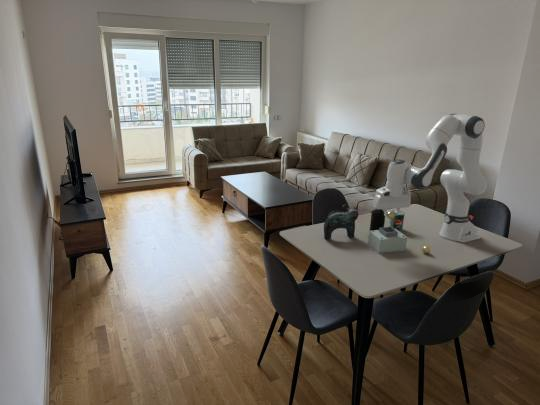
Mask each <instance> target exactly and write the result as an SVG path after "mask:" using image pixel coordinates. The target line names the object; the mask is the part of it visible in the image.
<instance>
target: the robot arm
mask: <svg viewBox="0 0 540 405" xmlns="http://www.w3.org/2000/svg"><path fill="white" fill-rule="evenodd" d="M485 127H486V126H485V121H484V119H483V118H482V117H479V115H478V116H477V115H471V114H466V113H465V114H462V113H461V114H460V113H459V114H458V113H451V114H446V115H443V116H442V117H441V118H440V119H439V120H437V122H436V123H435V124H434V125H433V126H432V127H431V129H430V130H429V131H428V132H427V133H426V136H425V144H426V147H427V148H428V149H429V150H430V151H431V156H430V157H429V159H428V161H427V163H426V164H425V165H424V167H422V168H420V167H417V166H415V165H411V164H410V163H408V162H406V161H405V159H393V160H391V161H390V163H389V165H388V166H387V172H386V183H385V186H384V185H383V186H382V187H380V188H377V189H376V190H375V193H376V194H375V196H374V197H373V198H374V199H373V207H374V209H382V210H383V211H384V216H385V217H387V216H388V212H387V211H388V210H389V209H395V212H393V213H394V215H395V216H397V213H398V212H399V211H401V209H403V208H409V207H410V206H411V196H412V191H411V190H410V189H406V190H405V189H404V184H407V185H409V186H410V187H411V186H412V187H413V188H416V189H417V190H419V191H420V190H422V191H423V190H425V189H427V188H428V187H429V186H430V185H431V184H432V182H433V179H434V176H435V174H436V172H437V170H438V169H439V167H440V166H441V163H442V162H443V161H444V159H445V157H446V155H447V152H448V144H449V142H450V141H451V140H452V139H453V137H454V135H456V136H459V137H460V139H459V143H458V150H457V154H456V162H457V164H458V165H459V166H460V167H461V168H462V170H459V169H450V168H449V169H445V170H443V171H442V173H441V175H440V183H441V186H443V187H444V189H445V191H446V194H447V206H446V211H445V214H444V220H443V224H442V226H441V229H440V231H439V235H440V236H441V237H442V238H444V239H447V240H450V241H455V242H459V243H467V242H471V241H476V240H480V239H481V235H480V234H478V233H477V227H476V225H475V224H473V223H472V222H471V221H470V220H473V219H474V216H473V215H469V209H470V200H469V199H468V198H467V197H466V196H465V193H466V194H469V195H482V194H483V193H485V192H486V190H487V188H488V181H487V178H485V176H484V175H483V173H482V172H481V167H480V156H481V152H482V145H483V137H484V136H483V132H484V130H485Z"/></svg>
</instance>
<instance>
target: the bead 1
mask: <svg viewBox="0 0 540 405" xmlns="http://www.w3.org/2000/svg"><path fill="white" fill-rule="evenodd" d="M391 211H392V210H391ZM391 211H388V212H387V213H388V216H386V217H387V218H388V219H389V220H390V219H392V218H394V216H395V215H394V213H393V212H391Z"/></svg>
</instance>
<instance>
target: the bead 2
mask: <svg viewBox="0 0 540 405" xmlns="http://www.w3.org/2000/svg"><path fill="white" fill-rule="evenodd" d="M421 250H422V253H423V254H425V255H428V254H430V252H431V248H430V247H429V246H427V245H425V246H423V247H422V248H421Z"/></svg>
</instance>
